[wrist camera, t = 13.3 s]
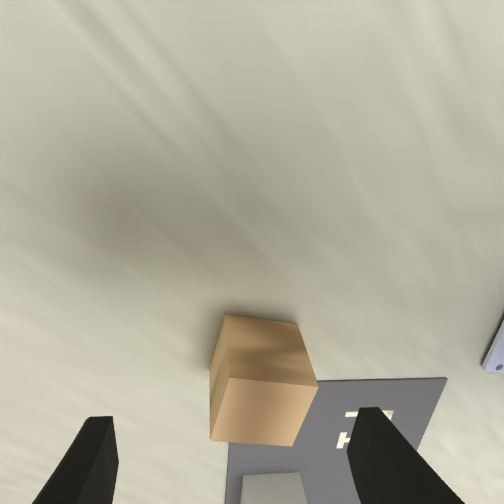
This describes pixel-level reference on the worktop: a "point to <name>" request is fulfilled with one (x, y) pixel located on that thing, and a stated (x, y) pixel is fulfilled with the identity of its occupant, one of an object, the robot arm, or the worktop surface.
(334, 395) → the mat
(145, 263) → the worktop surface
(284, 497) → the grey block
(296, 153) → the worktop surface
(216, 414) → the oak block
